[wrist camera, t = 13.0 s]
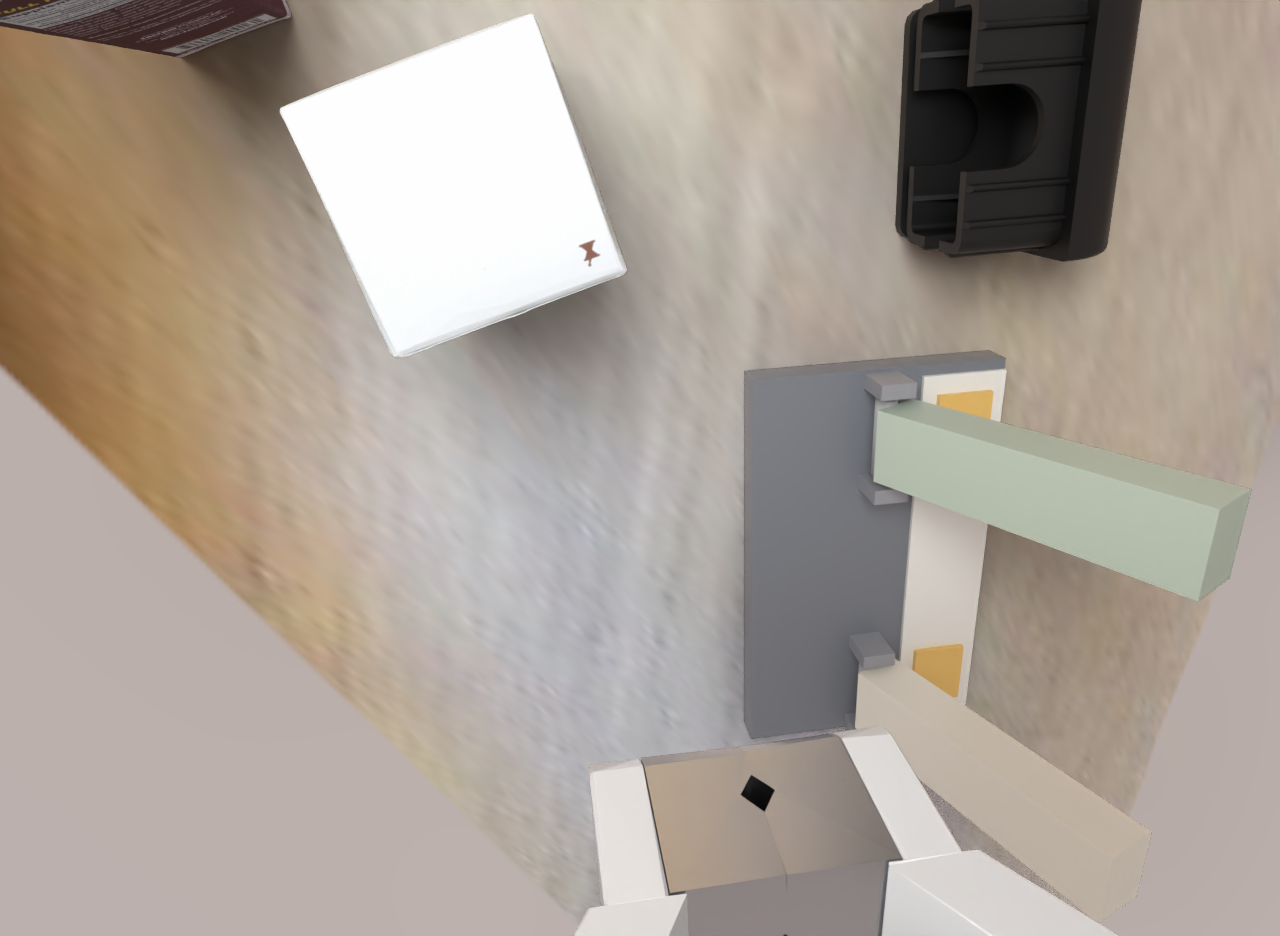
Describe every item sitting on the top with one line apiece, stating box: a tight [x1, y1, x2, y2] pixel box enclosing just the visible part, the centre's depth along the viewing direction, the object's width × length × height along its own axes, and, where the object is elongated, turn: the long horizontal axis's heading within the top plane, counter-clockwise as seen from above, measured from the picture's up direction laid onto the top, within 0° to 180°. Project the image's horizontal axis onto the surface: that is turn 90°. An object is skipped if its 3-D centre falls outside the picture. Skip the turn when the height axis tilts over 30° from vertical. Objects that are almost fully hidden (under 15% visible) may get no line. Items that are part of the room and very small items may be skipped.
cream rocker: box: [855, 659, 1152, 923], centre depth 39 cm, size 2×4×15 cm, turn 3°
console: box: [744, 350, 1007, 739], centre depth 42 cm, size 12×20×4 cm, turn 4°
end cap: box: [895, 0, 1142, 262], centre depth 34 cm, size 10×7×7 cm
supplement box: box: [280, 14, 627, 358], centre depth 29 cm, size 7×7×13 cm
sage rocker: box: [871, 398, 1252, 602], centre depth 34 cm, size 2×4×15 cm, turn 3°
